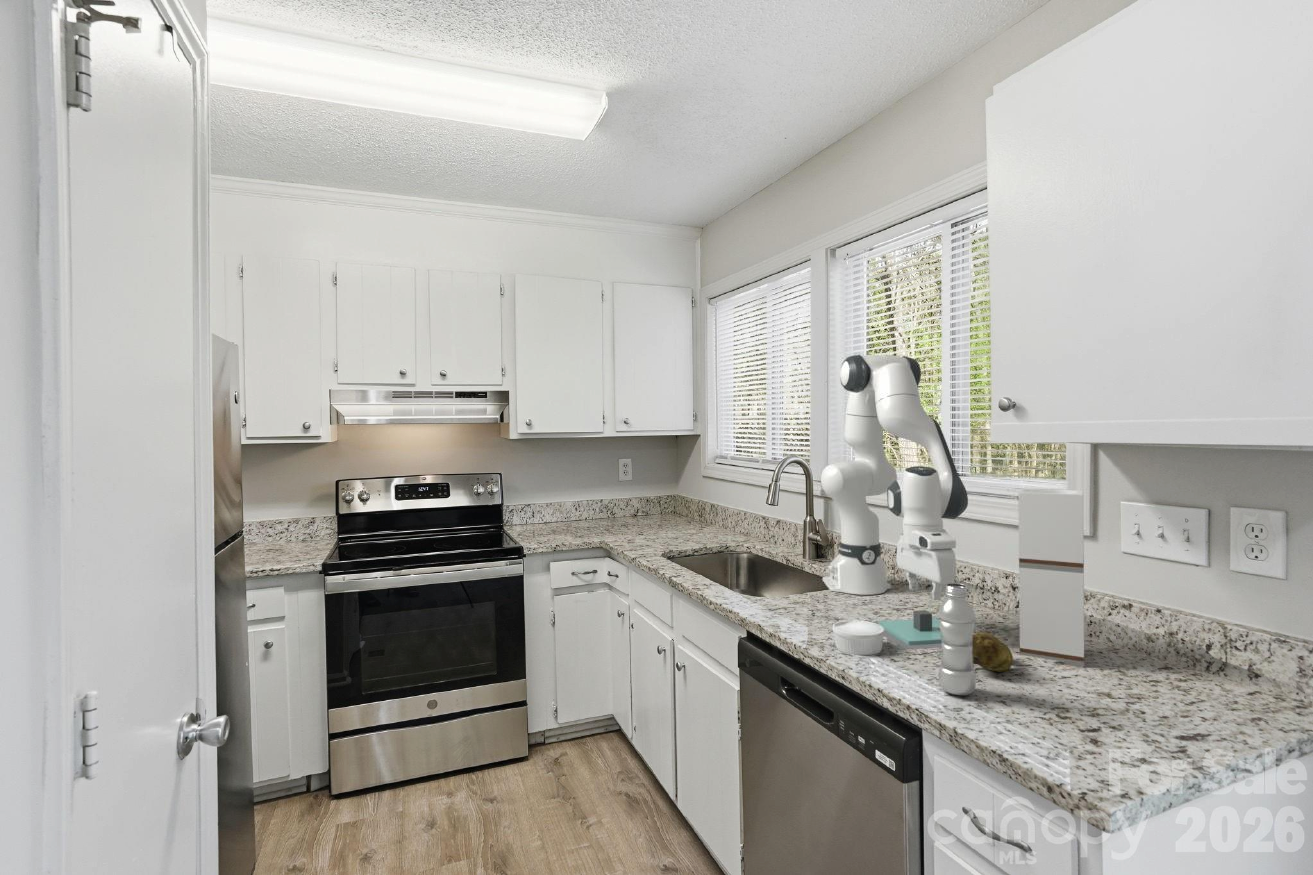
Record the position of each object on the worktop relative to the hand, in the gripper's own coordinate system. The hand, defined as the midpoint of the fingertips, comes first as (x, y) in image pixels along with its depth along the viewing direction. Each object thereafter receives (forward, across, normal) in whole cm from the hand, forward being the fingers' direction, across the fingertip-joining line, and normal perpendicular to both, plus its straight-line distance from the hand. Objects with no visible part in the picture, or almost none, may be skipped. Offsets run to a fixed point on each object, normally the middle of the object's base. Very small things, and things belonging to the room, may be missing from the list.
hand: (924, 594), depth 155 cm
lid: (+9, -1, 0) cm, 9 cm away
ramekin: (+10, +6, -19) cm, 23 cm away
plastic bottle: (+10, +31, -12) cm, 35 cm away
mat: (+10, -1, 0) cm, 10 cm away
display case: (+10, +16, +20) cm, 28 cm away
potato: (+10, +22, +2) cm, 25 cm away
